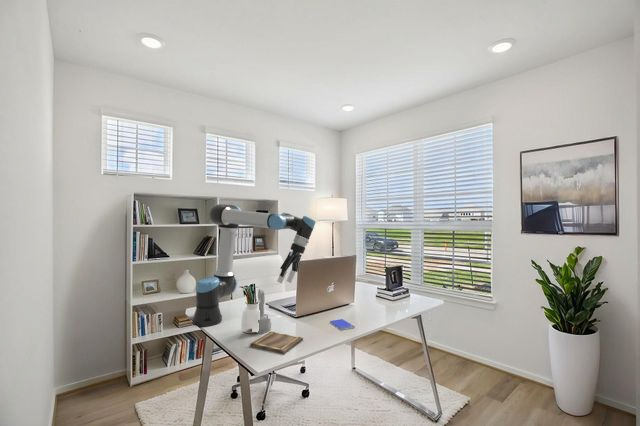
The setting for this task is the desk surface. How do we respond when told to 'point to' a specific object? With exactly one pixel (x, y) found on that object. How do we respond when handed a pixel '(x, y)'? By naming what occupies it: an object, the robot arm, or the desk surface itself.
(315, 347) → the desk surface
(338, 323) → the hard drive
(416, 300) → the desk surface
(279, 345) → the walnut board
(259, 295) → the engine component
